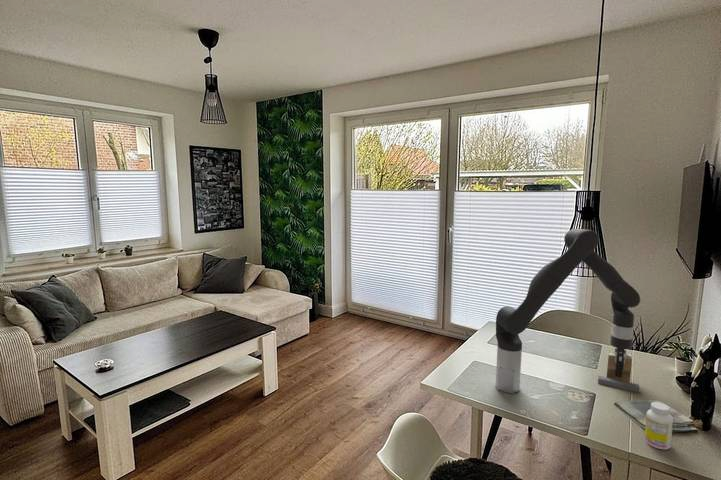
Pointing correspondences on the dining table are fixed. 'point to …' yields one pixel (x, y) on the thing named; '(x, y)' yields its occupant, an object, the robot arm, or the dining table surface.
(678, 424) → the dish towel
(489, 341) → the dining table surface
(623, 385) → the rail
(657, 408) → the supplement bottle
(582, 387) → the dining table surface
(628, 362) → the walnut slab
